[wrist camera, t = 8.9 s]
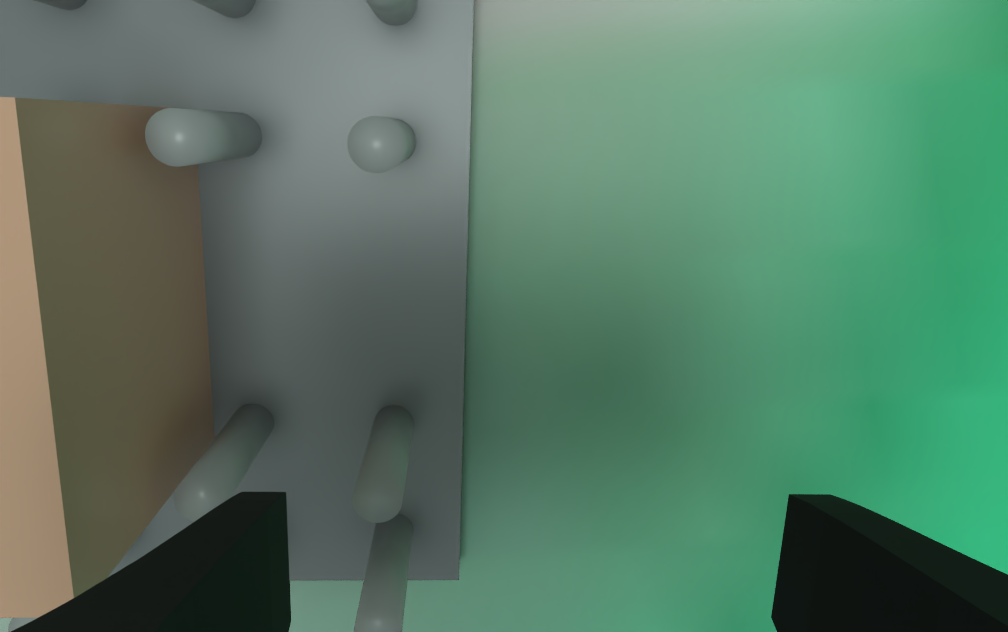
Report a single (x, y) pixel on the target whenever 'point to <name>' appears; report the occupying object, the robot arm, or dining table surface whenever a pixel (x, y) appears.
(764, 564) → the dining table surface
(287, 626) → the robot arm
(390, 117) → the dish rack
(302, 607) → the dining table surface
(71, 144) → the tall tan block
